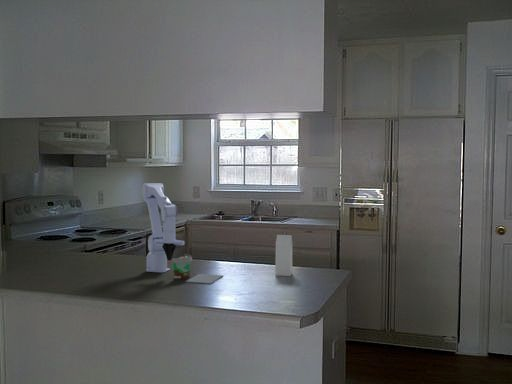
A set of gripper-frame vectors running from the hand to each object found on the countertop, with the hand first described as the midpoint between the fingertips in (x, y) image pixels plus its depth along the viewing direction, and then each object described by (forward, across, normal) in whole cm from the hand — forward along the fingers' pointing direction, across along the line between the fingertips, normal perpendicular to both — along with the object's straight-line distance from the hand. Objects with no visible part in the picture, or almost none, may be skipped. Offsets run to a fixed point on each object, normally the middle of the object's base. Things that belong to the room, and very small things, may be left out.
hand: (169, 259), depth 248 cm
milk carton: (+8, +50, +21) cm, 55 cm away
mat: (+8, +18, 0) cm, 19 cm away
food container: (+8, +8, 0) cm, 11 cm away
